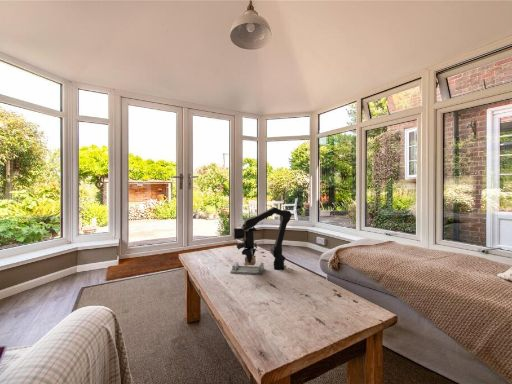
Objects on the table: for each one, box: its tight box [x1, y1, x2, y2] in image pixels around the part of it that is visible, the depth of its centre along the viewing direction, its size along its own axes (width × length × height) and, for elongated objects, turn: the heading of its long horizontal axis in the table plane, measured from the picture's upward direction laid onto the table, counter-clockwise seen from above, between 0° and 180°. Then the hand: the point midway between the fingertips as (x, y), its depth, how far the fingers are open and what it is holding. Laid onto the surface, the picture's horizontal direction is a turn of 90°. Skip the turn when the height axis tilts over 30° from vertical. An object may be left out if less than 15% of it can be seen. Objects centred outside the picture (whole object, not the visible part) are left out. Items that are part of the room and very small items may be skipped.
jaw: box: [231, 261, 240, 270], centre depth 159 cm, size 2×8×3 cm, turn 168°
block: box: [244, 255, 256, 266], centre depth 156 cm, size 6×4×5 cm
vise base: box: [230, 262, 265, 275], centre depth 157 cm, size 20×10×4 cm, turn 78°
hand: (250, 261), depth 156 cm, fingers closed on block, 4 cm apart
